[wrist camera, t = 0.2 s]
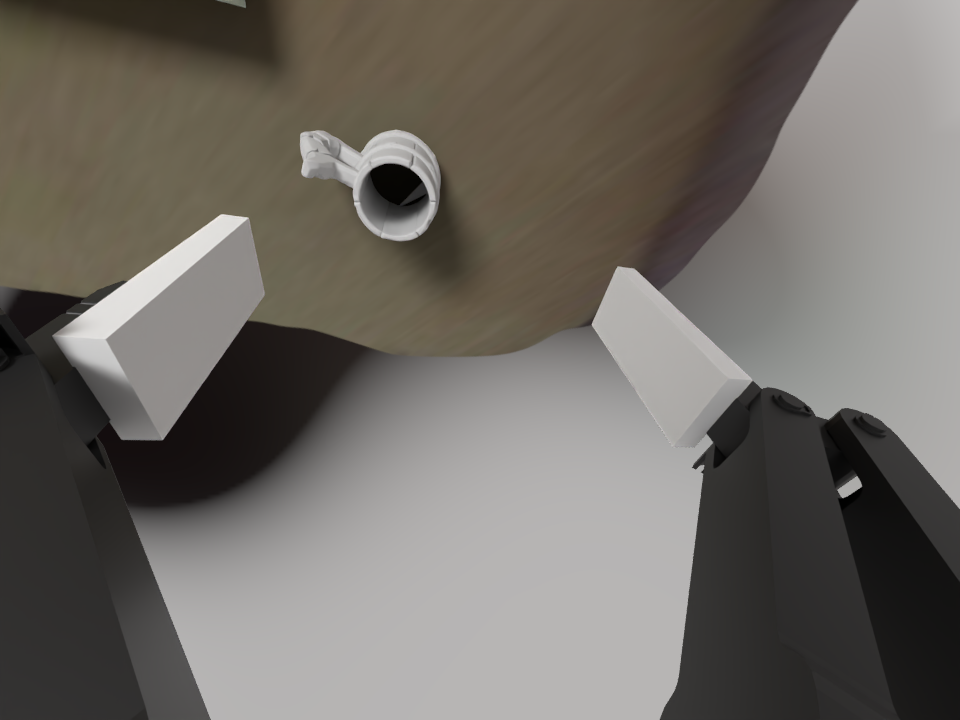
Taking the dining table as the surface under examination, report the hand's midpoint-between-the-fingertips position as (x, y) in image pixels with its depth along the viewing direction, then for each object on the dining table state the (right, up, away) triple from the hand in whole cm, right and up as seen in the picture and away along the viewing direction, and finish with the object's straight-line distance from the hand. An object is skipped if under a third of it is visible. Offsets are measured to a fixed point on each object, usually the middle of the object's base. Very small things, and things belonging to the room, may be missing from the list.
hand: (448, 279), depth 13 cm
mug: (-8, +16, +21) cm, 28 cm away
